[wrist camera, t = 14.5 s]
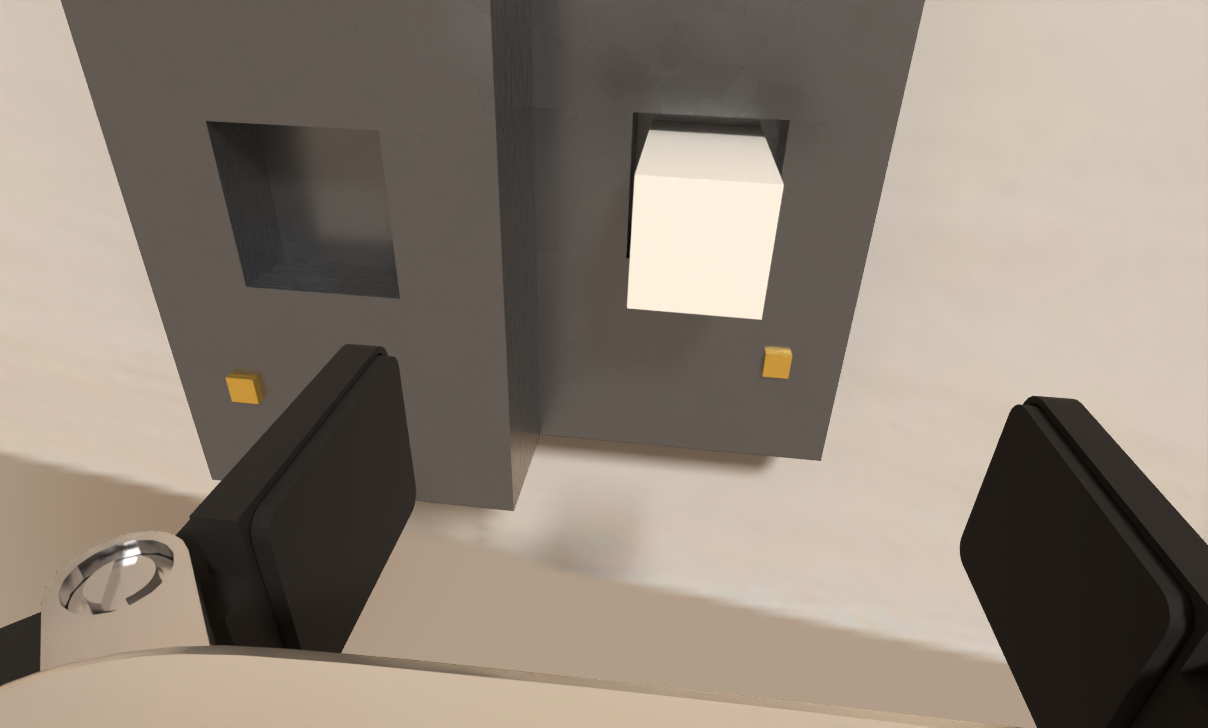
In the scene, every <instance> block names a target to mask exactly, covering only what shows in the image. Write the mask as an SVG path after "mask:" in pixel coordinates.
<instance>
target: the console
mask: <svg viewBox="0 0 1208 728" xmlns="http://www.w3.org/2000/svg"><path fill="white" fill-rule="evenodd" d="M61 2H62V6H63V9H64V12H65V15H66V18H67V21H68V25H69V28H70V31H71V34H72V37H73V40H74V44H75V47H76V50H77V53H78V56H79V59H80V63H81V66H82V69H83V72H84V75H85V78H86V81H87V85H88V88H89V91H90V94H91V97H92V100H93V104H94V107H95V110H96V113H97V116H98V119H99V123H100V126H101V129H102V132H103V135H104V138H105V142H106V145H107V148H108V151H109V154H110V157H111V161H112V164H113V167H114V170H115V173H116V176H117V180H118V183H119V186H120V189H121V192H122V195H123V199H124V202H125V205H126V208H127V211H128V214H129V218H130V221H131V224H132V227H133V230H134V233H135V237H136V240H137V243H138V246H139V249H140V252H141V255H142V259H143V262H144V265H145V268H146V271H147V274H148V278H149V281H150V284H151V287H152V290H153V293H154V297H155V300H156V303H157V306H158V309H159V312H160V316H161V319H162V322H163V325H164V328H165V331H166V335H167V338H168V341H169V344H170V347H171V350H172V354H173V357H174V360H175V363H176V366H177V369H178V373H179V376H180V379H181V382H182V385H183V388H184V392H185V395H186V398H187V401H188V404H189V407H190V411H191V414H192V417H193V420H194V423H195V426H196V429H197V433H198V436H199V439H200V442H201V445H202V448H203V452H204V455H205V458H206V461H207V464H208V467H209V471H210V474H211V477H212V479H213V480H223V478H224V477H225V476H226V475H227V474H228V473H229V472H230V471H231V470H232V468H233V467H234V466H235V465H236V464H237V463H238V462H239V461H240V460H241V458H242V457H243V456H244V455H245V454H246V453H247V452H248V451H249V450H250V449H251V447H252V446H253V445H254V444H255V443H256V442H257V441H258V440H259V439H260V437H261V436H262V435H263V434H264V433H265V432H266V431H267V430H268V429H269V427H270V426H271V425H272V424H273V423H274V422H275V421H276V420H277V419H278V417H279V416H280V415H281V414H282V413H283V412H284V411H285V410H286V409H287V407H288V406H289V405H290V404H291V403H292V402H293V401H294V400H295V399H296V397H297V396H298V395H299V394H300V393H301V392H302V391H303V390H304V389H305V387H306V386H307V385H308V384H309V383H310V382H311V381H312V380H313V379H314V377H315V376H316V375H317V374H318V373H319V372H320V371H321V370H322V369H323V367H324V366H325V365H326V364H327V363H328V362H329V361H330V360H331V359H332V357H333V356H334V355H335V354H336V353H337V352H338V351H339V350H340V349H341V348H342V347H343V346H344V345H345V344H357V345H370V346H382V347H384V348H385V349H386V351H387V353H388V356H394V357H395V358H396V359H397V361H398V364H399V370H400V377H401V384H402V391H403V398H404V406H405V413H406V420H407V427H408V434H409V441H410V448H411V455H412V463H413V470H414V477H415V484H416V499H415V501H423V502H432V503H442V504H452V505H461V506H471V507H480V508H490V509H499V510H509V511H514V509H515V506H516V503H517V500H518V497H519V494H520V492H521V489H522V486H523V483H524V480H525V477H526V474H527V471H528V469H529V466H530V463H531V460H532V457H533V454H534V451H535V448H536V445H537V443H538V440H539V437H540V434H541V435H552V436H562V437H573V438H583V439H594V440H605V441H615V442H626V443H637V444H647V445H658V446H668V447H679V448H690V449H700V450H711V451H722V452H732V453H743V454H753V455H764V456H775V457H785V458H796V459H807V460H817V461H821V457H822V453H823V448H824V444H825V439H826V435H827V430H828V426H829V422H830V417H831V413H832V408H833V404H834V400H835V395H836V391H837V386H838V382H839V377H840V373H841V369H842V364H843V360H844V355H845V351H846V347H847V342H848V338H849V333H850V329H851V324H852V320H853V316H854V311H855V307H856V302H857V298H858V294H859V289H860V285H861V280H862V276H863V272H864V267H865V263H866V258H867V254H868V249H869V245H870V241H871V236H872V232H873V227H874V223H875V219H876V214H877V210H878V205H879V201H880V196H881V192H882V188H883V183H884V179H885V174H886V170H887V166H888V161H889V157H890V152H891V148H892V143H893V139H894V135H895V130H896V126H897V121H898V117H899V113H900V108H901V104H902V99H903V95H904V90H905V86H906V82H907V77H908V73H909V68H910V64H911V60H912V55H913V51H914V46H915V42H916V38H917V33H918V29H919V24H920V20H921V15H922V11H923V7H924V2H925V0H61ZM652 121H665V122H681V123H698V124H714V125H730V126H747V127H761V128H762V131H763V133H764V136H765V138H766V141H767V143H768V146H769V148H770V151H771V153H772V156H773V159H774V161H775V164H776V166H777V169H778V171H779V174H780V176H781V179H782V181H783V184H784V187H783V193H782V199H781V205H780V211H779V217H778V223H777V230H776V236H775V242H774V248H773V254H772V260H771V266H770V272H769V278H768V284H767V290H766V296H765V302H764V308H763V314H762V320H759V319H747V318H736V317H724V316H712V315H700V314H688V313H677V312H665V311H653V310H641V309H629V308H627V298H628V281H629V264H630V246H631V229H632V212H633V195H634V178H635V172H636V169H637V166H638V163H639V160H640V157H641V154H642V151H643V148H644V145H645V142H646V138H647V135H648V132H649V129H650V126H651V123H652Z"/></svg>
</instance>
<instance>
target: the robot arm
mask: <svg viewBox="0 0 1208 728" xmlns="http://www.w3.org/2000/svg"><path fill="white" fill-rule="evenodd" d="M415 499H416V484H415V477H414V470H413V463H412V455H411V448H410V441H409V434H408V427H407V420H406V413H405V406H404V398H403V391H402V384H401V377H400V370H399V364H398V361H397V359H396V358H395V357H394V356H388V353H387V351H386V349H385V348H384V347H382V346H370V345H357V344H345V345H344V346H343V347H342V348H341V349H340V350H339V351H338V352H337V353H336V354H335V355H334V356H333V357H332V359H331V360H330V361H329V362H328V363H327V364H326V365H325V366H324V367H323V369H322V370H321V371H320V372H319V373H318V374H317V375H316V376H315V377H314V379H313V380H312V381H311V382H310V383H309V384H308V385H307V386H306V387H305V389H304V390H303V391H302V392H301V393H300V394H299V395H298V396H297V397H296V399H295V400H294V401H293V402H292V403H291V404H290V405H289V406H288V407H287V409H286V410H285V411H284V412H283V413H282V414H281V415H280V416H279V417H278V419H277V420H276V421H275V422H274V423H273V424H272V425H271V426H270V427H269V429H268V430H267V431H266V432H265V433H264V434H263V435H262V436H261V437H260V439H259V440H258V441H257V442H256V443H255V444H254V445H253V446H252V447H251V449H250V450H249V451H248V452H247V453H246V454H245V455H244V456H243V457H242V458H241V460H240V461H239V462H238V463H237V464H236V465H235V466H234V467H233V468H232V470H231V471H230V472H229V473H228V474H227V475H226V476H225V477H224V478H223V480H222V481H221V482H220V483H219V484H218V485H217V486H216V487H215V488H214V490H213V491H212V492H211V493H210V494H209V495H208V496H207V497H206V498H205V500H204V501H203V502H202V503H201V504H200V505H199V506H198V507H197V509H196V510H195V511H194V512H193V513H192V514H191V515H190V516H189V517H190V520H189V521H188V522H187V523H186V524H185V526H184V527H183V528H182V529H181V530H180V531H179V532H178V533H177V535H176V536H174V535H173V534H171V533H165V532H159V531H145V532H134V533H130V534H126V535H122V536H117V537H114V538H111V539H109V540H107V541H104V542H102V543H100V544H97V545H94V546H92V547H91V548H89V549H87V550H86V551H84V552H82V553H81V554H79V555H77V556H76V557H74V558H73V559H71V560H70V561H69V562H68V563H67V564H66V565H64V566H63V567H62V568H61V569H60V570H59V571H58V572H56V574H55V575H54V577H53V578H52V579H51V581H50V582H49V584H48V585H47V586H46V588H45V591H44V595H43V598H42V602H41V612H40V613H37V614H35V615H32V616H30V617H27V618H25V619H22V620H20V621H17V622H15V623H13V624H10V625H8V626H5V627H3V628H0V728H1020V727H1011V726H1002V725H994V724H985V723H976V722H968V721H960V720H950V719H942V718H934V717H925V716H917V715H908V714H900V713H891V712H883V711H874V710H866V709H857V708H849V707H840V706H830V705H822V704H813V703H804V702H795V701H786V700H778V699H769V698H759V697H751V696H742V695H733V694H724V693H715V692H706V691H697V690H688V689H678V688H670V687H661V686H651V685H643V684H633V683H625V682H616V681H606V680H598V679H587V678H579V677H569V676H560V675H550V674H540V673H532V672H522V671H512V670H503V669H494V668H484V667H475V666H465V665H456V664H446V663H437V662H428V661H418V660H409V659H398V658H387V657H375V656H364V655H353V654H342V653H341V652H342V650H343V648H344V646H345V644H346V642H347V640H348V638H349V636H350V634H351V632H352V630H353V628H354V626H355V624H356V622H357V620H358V618H359V616H360V614H361V612H362V610H363V608H364V606H365V604H366V602H367V600H368V598H369V596H370V594H371V592H372V590H373V588H374V586H375V584H376V582H377V580H378V578H379V576H380V574H381V572H382V570H383V568H384V566H385V564H386V563H387V561H388V559H389V556H390V554H391V552H392V550H393V549H394V547H395V545H396V542H397V541H398V539H399V537H400V535H401V533H402V531H403V529H404V527H405V525H406V523H407V521H408V519H409V517H410V515H411V513H412V511H413V508H414V504H415ZM960 556H961V561H962V564H963V566H964V568H965V570H966V573H967V575H968V577H969V579H970V581H971V584H972V586H973V588H974V590H975V592H976V595H977V597H978V599H979V601H980V603H981V606H982V608H983V610H984V612H985V614H986V617H987V619H988V621H989V623H990V625H991V628H992V630H993V632H994V634H995V636H996V639H997V641H998V643H999V645H1000V647H1001V649H1002V652H1003V654H1004V656H1005V658H1006V660H1007V663H1008V665H1009V667H1010V669H1011V671H1012V674H1013V676H1014V678H1015V680H1016V682H1017V684H1018V686H1019V689H1020V691H1021V693H1022V696H1023V698H1024V700H1025V702H1026V704H1027V706H1028V709H1029V711H1030V713H1031V715H1032V718H1033V720H1034V722H1035V724H1036V726H1037V728H1208V545H1207V544H1206V543H1205V542H1204V540H1203V539H1202V538H1201V537H1200V536H1199V535H1198V534H1197V533H1196V531H1195V530H1194V529H1193V528H1192V527H1191V526H1190V525H1189V524H1188V523H1187V521H1186V520H1185V519H1184V518H1183V517H1182V516H1181V515H1180V514H1179V512H1178V511H1177V510H1176V509H1175V508H1174V507H1173V506H1172V505H1171V503H1170V502H1169V501H1168V500H1167V499H1166V498H1165V497H1164V496H1163V494H1162V493H1161V492H1160V491H1159V490H1158V489H1157V488H1156V487H1155V485H1154V484H1153V483H1152V482H1151V481H1150V480H1149V479H1148V478H1147V476H1146V475H1145V474H1144V473H1143V472H1142V471H1141V470H1140V469H1139V468H1138V466H1137V465H1136V464H1135V463H1134V462H1133V461H1132V460H1131V459H1130V457H1129V456H1128V455H1127V454H1126V453H1125V452H1124V451H1123V450H1122V448H1121V447H1120V446H1119V445H1118V444H1117V443H1116V442H1115V441H1114V439H1113V438H1112V437H1111V436H1110V435H1109V434H1108V433H1107V432H1106V430H1105V429H1104V428H1103V427H1102V426H1101V425H1100V424H1099V423H1098V421H1097V420H1096V419H1095V418H1094V417H1093V416H1092V415H1091V414H1090V412H1089V411H1088V410H1087V409H1086V408H1085V407H1084V406H1083V405H1082V404H1081V403H1080V402H1079V401H1078V400H1075V399H1067V398H1054V397H1041V396H1032V397H1029V398H1028V399H1027V400H1026V401H1025V402H1024V404H1023V405H1019V404H1018V405H1016V406H1014V407H1013V408H1012V409H1011V411H1010V413H1009V416H1008V418H1007V421H1006V423H1005V426H1004V429H1003V431H1002V434H1001V436H1000V439H999V442H998V444H997V447H996V449H995V452H994V454H993V457H992V460H991V462H990V465H989V467H988V470H987V473H986V475H985V478H984V480H983V483H982V486H981V488H980V491H979V493H978V496H977V499H976V501H975V504H974V506H973V509H972V512H971V514H970V517H969V519H968V522H967V524H966V527H965V530H964V532H963V535H962V538H961V541H960Z"/></svg>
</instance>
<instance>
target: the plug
mask: <svg viewBox="0 0 1208 728" xmlns="http://www.w3.org/2000/svg"><path fill="white" fill-rule="evenodd" d="M783 187H784V184H783V181H782V179H781V176H780V174H779V171H778V169H777V166H776V164H775V161H774V159H773V156H772V153H771V151H770V148H769V146H768V143H767V141H766V138H765V136H764V133H763V131H762V128H761V127H747V126H730V125H714V124H698V123H681V122H665V121H652V123H651V126H650V129H649V132H648V135H647V138H646V142H645V145H644V148H643V151H642V154H641V157H640V160H639V163H638V166H637V169H636V172H635V178H634V195H633V212H632V229H631V246H630V264H629V281H628V298H627V308H629V309H641V310H653V311H665V312H677V313H688V314H700V315H712V316H724V317H736V318H747V319H759V320H762V314H763V308H764V302H765V296H766V290H767V284H768V278H769V272H770V266H771V260H772V254H773V248H774V242H775V236H776V230H777V223H778V217H779V211H780V205H781V199H782V193H783Z"/></svg>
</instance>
